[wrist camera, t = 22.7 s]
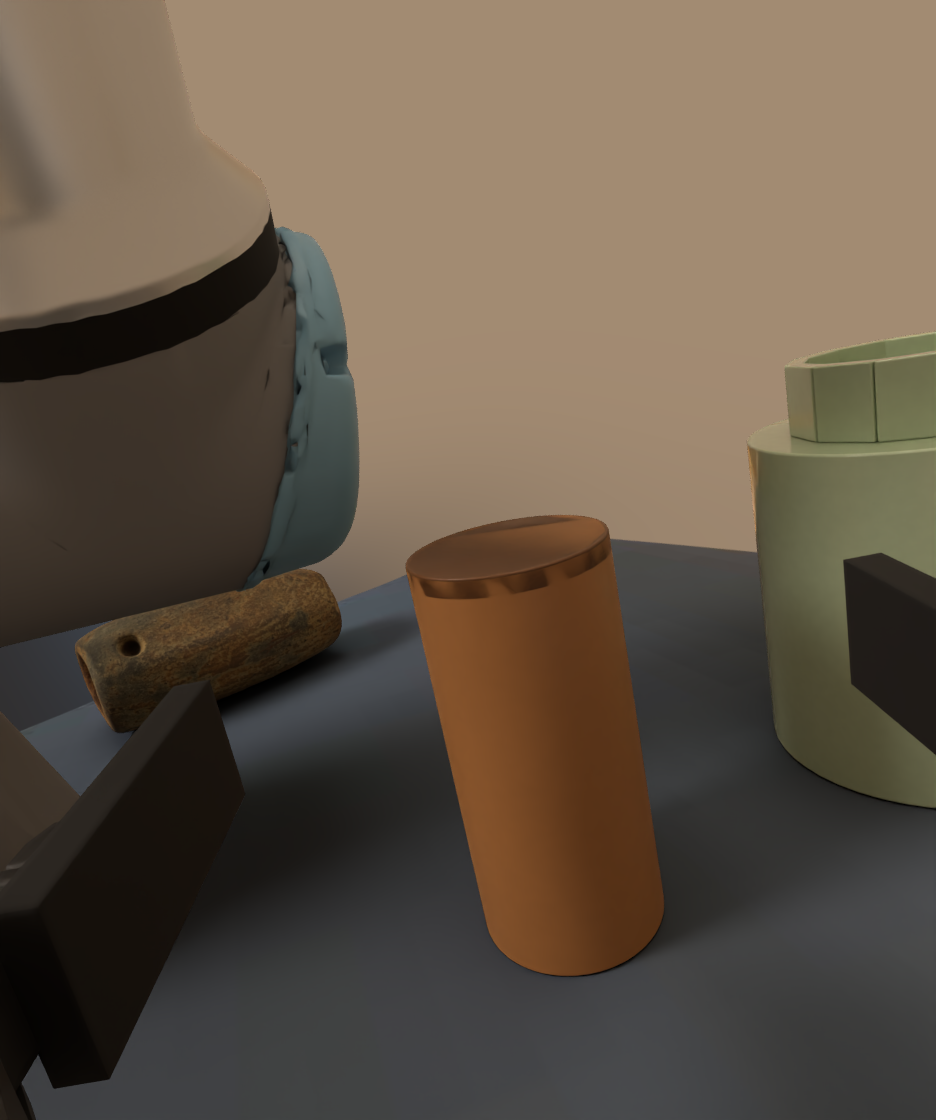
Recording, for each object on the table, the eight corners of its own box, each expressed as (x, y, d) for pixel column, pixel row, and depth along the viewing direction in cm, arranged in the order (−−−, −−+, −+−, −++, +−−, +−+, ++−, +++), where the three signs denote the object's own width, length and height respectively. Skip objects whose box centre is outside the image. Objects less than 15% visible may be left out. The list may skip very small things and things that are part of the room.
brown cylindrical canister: (455, 902, 25) (373, 560, 22) (585, 826, 27) (529, 508, 24) (556, 1012, 20) (470, 593, 17) (704, 907, 23) (652, 525, 19)
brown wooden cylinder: (130, 764, 40) (89, 648, 38) (92, 731, 45) (55, 628, 43) (362, 652, 49) (337, 554, 47) (308, 636, 54) (284, 547, 52)
